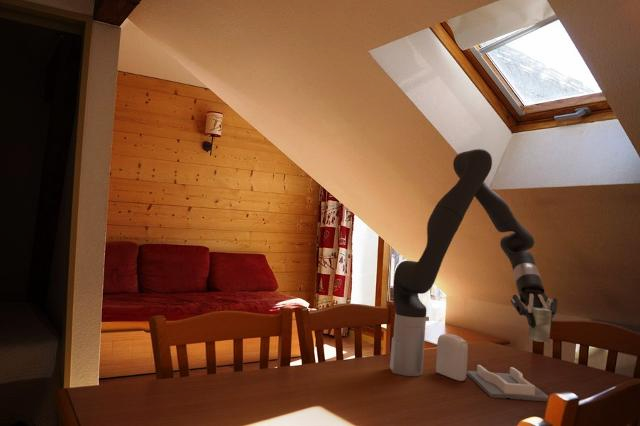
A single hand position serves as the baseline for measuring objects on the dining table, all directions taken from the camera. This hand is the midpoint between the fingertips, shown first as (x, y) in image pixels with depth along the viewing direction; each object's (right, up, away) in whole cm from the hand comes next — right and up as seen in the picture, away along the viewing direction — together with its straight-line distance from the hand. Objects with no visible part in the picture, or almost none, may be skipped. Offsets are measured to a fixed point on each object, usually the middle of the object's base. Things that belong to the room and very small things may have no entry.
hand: (541, 326), depth 152 cm
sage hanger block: (0, -4, +1) cm, 4 cm away
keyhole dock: (-11, -17, -2) cm, 20 cm away
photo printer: (-25, -16, +5) cm, 30 cm away
